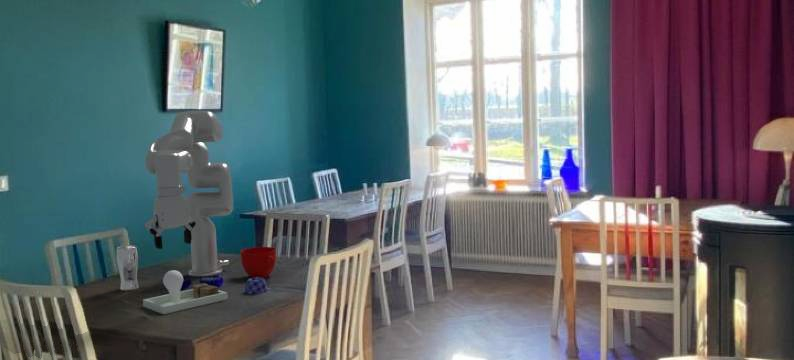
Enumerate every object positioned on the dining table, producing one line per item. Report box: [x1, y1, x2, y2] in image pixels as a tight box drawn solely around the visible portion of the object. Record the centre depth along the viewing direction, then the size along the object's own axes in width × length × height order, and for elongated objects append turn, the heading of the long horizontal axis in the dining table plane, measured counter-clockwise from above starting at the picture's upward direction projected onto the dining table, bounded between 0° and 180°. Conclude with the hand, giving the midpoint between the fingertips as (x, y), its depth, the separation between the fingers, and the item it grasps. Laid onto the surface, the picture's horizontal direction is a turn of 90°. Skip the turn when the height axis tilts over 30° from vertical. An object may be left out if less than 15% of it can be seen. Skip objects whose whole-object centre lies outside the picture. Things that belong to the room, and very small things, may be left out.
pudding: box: [244, 277, 272, 295], centre depth 240 cm, size 12×12×5 cm
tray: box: [142, 288, 229, 315], centre depth 228 cm, size 22×14×3 cm, turn 134°
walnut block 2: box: [200, 285, 219, 297], centre depth 231 cm, size 4×4×4 cm
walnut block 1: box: [192, 282, 210, 298], centre depth 234 cm, size 4×4×4 cm
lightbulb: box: [162, 269, 184, 304], centre depth 226 cm, size 6×6×11 cm
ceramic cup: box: [240, 246, 277, 279], centre depth 264 cm, size 13×17×10 cm
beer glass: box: [116, 244, 139, 292], centre depth 253 cm, size 7×7×15 cm
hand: (173, 245), depth 225 cm, fingers open, 9 cm apart
